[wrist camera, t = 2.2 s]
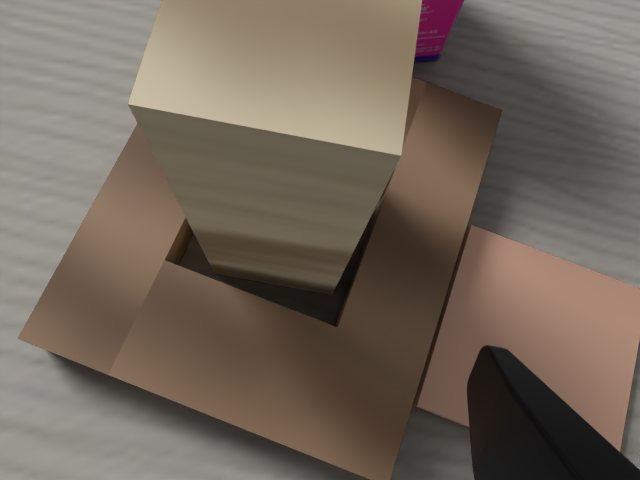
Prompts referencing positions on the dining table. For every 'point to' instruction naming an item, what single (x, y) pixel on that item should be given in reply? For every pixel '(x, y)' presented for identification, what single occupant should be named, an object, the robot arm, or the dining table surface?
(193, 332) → the pocket board
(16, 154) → the dining table surface
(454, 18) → the supplement box
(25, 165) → the dining table surface
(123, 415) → the dining table surface
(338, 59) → the maple block
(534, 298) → the terracotta tile
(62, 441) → the dining table surface
